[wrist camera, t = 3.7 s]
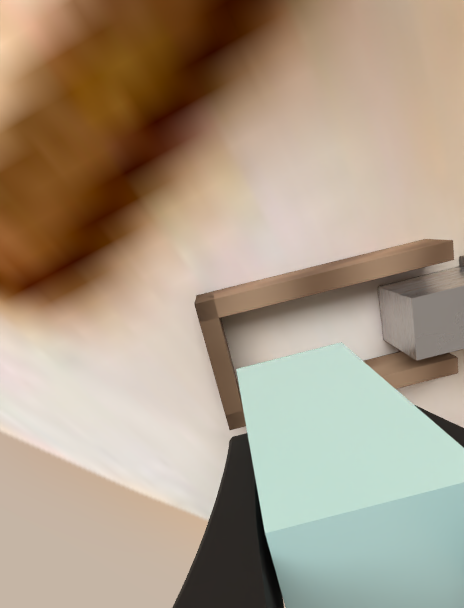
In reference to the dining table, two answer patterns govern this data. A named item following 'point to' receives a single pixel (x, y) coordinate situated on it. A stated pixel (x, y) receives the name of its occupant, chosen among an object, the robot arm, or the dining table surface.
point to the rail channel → (312, 281)
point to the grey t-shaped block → (425, 313)
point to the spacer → (353, 485)
